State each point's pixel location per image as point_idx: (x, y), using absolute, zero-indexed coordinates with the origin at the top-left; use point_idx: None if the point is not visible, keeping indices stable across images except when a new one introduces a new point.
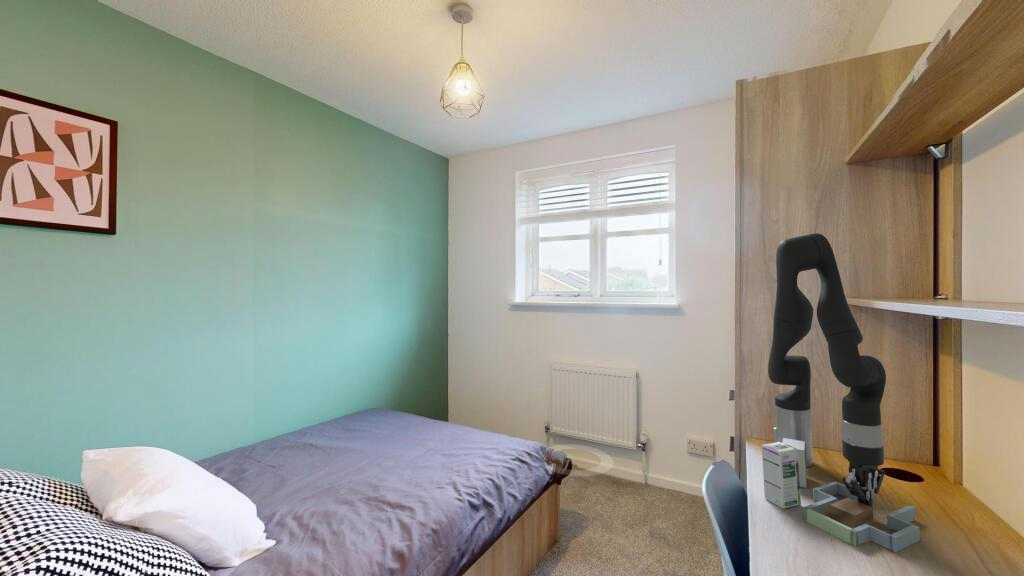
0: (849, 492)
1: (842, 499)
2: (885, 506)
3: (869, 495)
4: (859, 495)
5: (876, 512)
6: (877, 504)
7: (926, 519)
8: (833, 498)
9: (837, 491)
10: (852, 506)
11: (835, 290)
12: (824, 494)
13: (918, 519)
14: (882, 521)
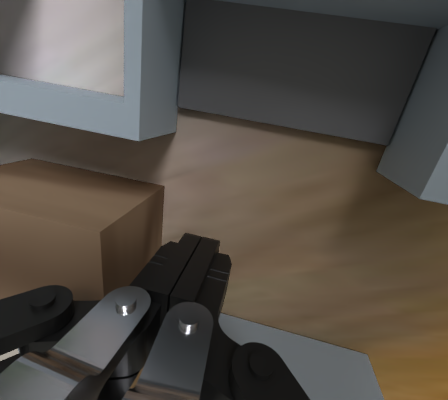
0: (424, 125)
1: (336, 97)
2: (438, 277)
3: (133, 384)
4: (2, 365)
5: (315, 259)
6: (438, 246)
7: (405, 392)
8: (110, 122)
9: (442, 20)
10: (15, 277)
11: None
12: (126, 37)
13: (379, 374)
14: (238, 288)
